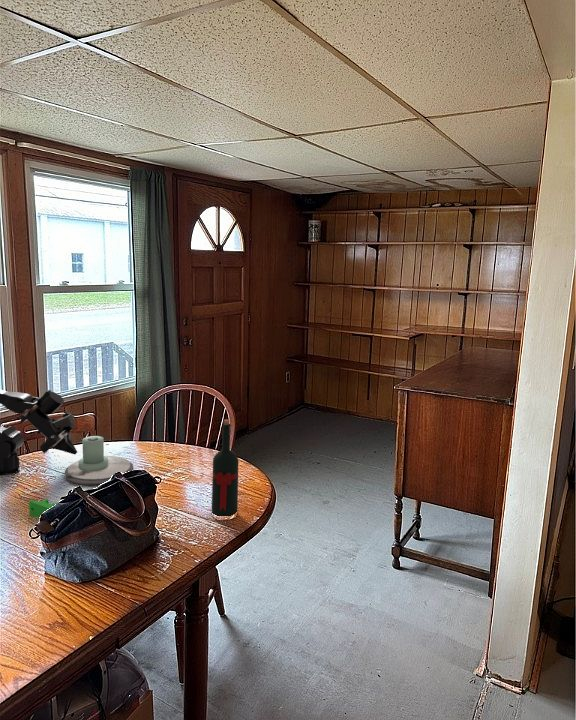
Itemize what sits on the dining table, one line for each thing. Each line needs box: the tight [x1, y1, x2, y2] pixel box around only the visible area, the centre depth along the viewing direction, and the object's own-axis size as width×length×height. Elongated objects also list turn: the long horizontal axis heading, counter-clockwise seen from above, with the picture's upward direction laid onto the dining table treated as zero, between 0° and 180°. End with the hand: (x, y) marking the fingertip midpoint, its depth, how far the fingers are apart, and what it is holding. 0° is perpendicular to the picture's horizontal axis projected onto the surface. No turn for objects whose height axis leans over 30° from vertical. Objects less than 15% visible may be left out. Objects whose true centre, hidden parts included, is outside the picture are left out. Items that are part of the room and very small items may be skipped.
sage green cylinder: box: [77, 435, 108, 471], centre depth 182 cm, size 10×10×10 cm
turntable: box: [64, 455, 134, 487], centre depth 183 cm, size 23×23×2 cm
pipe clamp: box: [28, 498, 58, 519], centre depth 150 cm, size 11×4×5 cm, turn 63°
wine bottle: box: [211, 418, 239, 516], centre depth 152 cm, size 8×10×30 cm
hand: (76, 453), depth 182 cm, fingers closed
